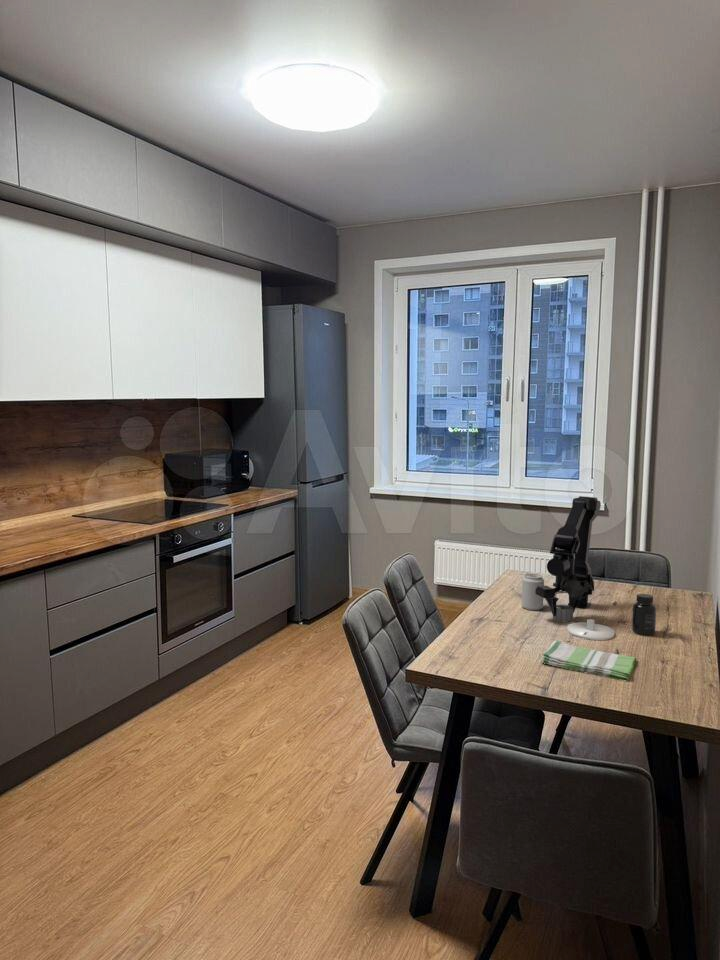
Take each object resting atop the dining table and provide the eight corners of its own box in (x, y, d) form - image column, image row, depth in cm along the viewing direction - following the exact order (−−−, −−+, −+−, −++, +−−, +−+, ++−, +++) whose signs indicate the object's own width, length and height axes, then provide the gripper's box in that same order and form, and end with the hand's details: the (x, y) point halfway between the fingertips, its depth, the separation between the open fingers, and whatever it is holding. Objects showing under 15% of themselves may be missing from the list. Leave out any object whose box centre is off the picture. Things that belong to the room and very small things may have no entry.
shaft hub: (576, 622, 216) (576, 610, 216) (619, 631, 208) (620, 619, 207) (560, 633, 205) (561, 621, 205) (606, 643, 197) (606, 630, 196)
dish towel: (553, 647, 195) (554, 635, 195) (636, 662, 184) (637, 650, 183) (539, 666, 180) (540, 654, 180) (628, 684, 169) (629, 670, 168)
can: (541, 605, 235) (542, 572, 234) (544, 611, 228) (546, 577, 226) (519, 604, 236) (521, 571, 235) (522, 610, 228) (524, 577, 227)
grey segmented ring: (565, 615, 224) (565, 602, 223) (576, 620, 218) (577, 608, 217) (549, 616, 222) (549, 604, 222) (560, 622, 216) (560, 609, 215)
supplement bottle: (655, 630, 209) (657, 594, 207) (654, 637, 203) (657, 599, 201) (632, 627, 212) (634, 591, 210) (631, 634, 205) (633, 597, 204)
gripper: (554, 577, 208) (552, 625, 209) (604, 573, 213) (601, 620, 215) (535, 569, 218) (533, 614, 220) (583, 566, 224) (580, 610, 225)
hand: (562, 615), depth 220 cm, fingers closed on grey segmented ring, 6 cm apart
